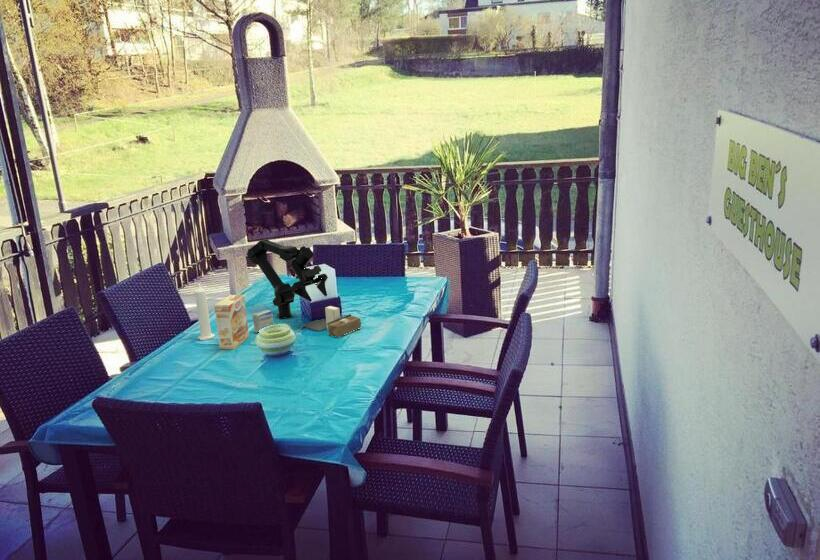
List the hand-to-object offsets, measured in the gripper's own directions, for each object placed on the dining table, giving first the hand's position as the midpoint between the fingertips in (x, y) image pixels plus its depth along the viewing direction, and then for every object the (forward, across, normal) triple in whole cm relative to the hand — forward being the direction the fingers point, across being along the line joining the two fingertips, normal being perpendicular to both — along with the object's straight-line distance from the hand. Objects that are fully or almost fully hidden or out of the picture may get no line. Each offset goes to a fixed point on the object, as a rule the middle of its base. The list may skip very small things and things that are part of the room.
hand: (318, 298), depth 300 cm
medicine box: (-2, -18, +22) cm, 29 cm away
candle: (-12, -39, +33) cm, 52 cm away
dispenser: (+20, 0, -3) cm, 20 cm away
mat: (+9, 0, +9) cm, 13 cm away
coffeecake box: (-1, -36, +21) cm, 41 cm away
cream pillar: (+15, 0, +3) cm, 15 cm away
